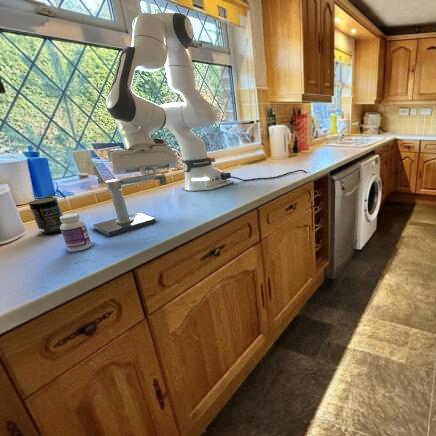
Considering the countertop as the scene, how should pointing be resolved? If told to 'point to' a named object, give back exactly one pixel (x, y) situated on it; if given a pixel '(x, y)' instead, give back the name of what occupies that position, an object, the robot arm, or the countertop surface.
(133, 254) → the countertop surface
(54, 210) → the supplement container
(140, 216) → the tap stand
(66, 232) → the pill bottle
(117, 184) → the spout
